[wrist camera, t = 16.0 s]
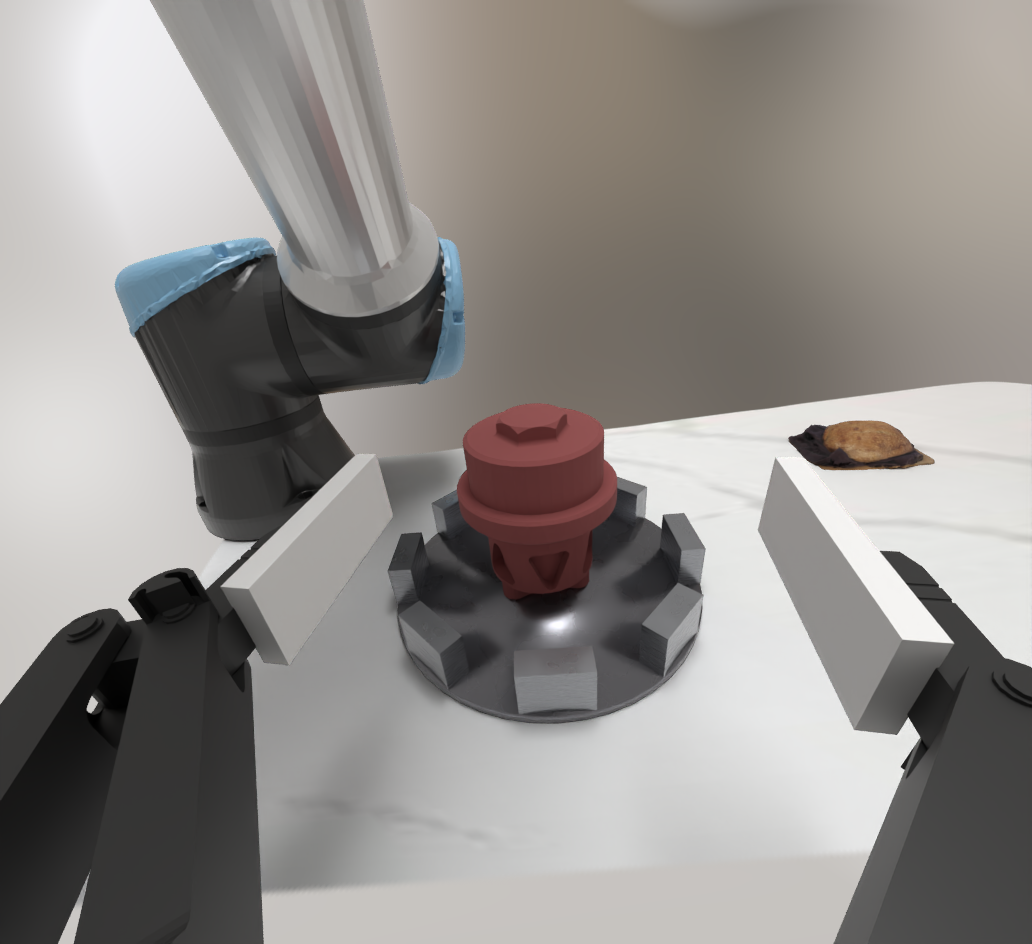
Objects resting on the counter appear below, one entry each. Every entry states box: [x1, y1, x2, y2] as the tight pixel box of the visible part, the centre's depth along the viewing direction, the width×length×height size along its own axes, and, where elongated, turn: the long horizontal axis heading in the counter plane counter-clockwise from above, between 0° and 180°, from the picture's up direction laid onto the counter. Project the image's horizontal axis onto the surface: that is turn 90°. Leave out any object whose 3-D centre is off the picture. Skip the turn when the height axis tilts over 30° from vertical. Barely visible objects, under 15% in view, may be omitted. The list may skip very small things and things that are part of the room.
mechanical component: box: [457, 404, 617, 599], centre depth 28 cm, size 12×10×10 cm
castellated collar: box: [388, 477, 705, 723], centre depth 31 cm, size 21×21×4 cm
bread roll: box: [788, 421, 934, 470], centre depth 44 cm, size 11×8×4 cm
